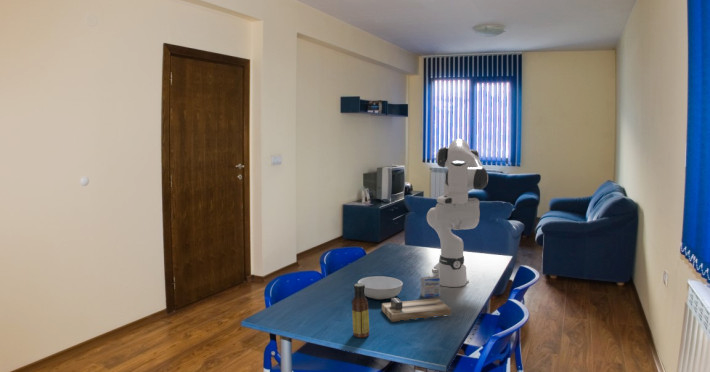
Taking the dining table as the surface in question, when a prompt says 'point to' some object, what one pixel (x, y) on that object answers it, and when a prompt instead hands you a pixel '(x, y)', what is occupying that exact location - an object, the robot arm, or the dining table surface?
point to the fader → (396, 303)
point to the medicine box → (430, 286)
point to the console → (416, 309)
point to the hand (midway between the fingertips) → (457, 229)
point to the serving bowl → (381, 287)
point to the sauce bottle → (360, 312)
